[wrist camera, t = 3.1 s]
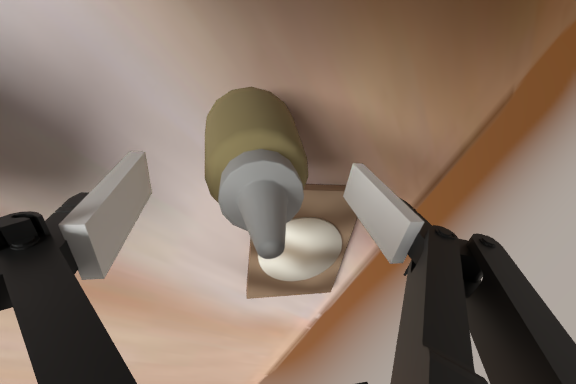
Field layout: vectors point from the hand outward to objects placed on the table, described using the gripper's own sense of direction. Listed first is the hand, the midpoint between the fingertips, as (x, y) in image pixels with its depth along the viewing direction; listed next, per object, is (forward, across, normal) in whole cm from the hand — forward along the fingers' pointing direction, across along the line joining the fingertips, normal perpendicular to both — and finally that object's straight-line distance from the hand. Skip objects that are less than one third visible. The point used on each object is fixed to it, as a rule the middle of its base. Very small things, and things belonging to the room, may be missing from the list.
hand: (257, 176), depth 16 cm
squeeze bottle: (+11, 0, 0) cm, 11 cm away
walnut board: (+11, +8, -17) cm, 22 cm away
